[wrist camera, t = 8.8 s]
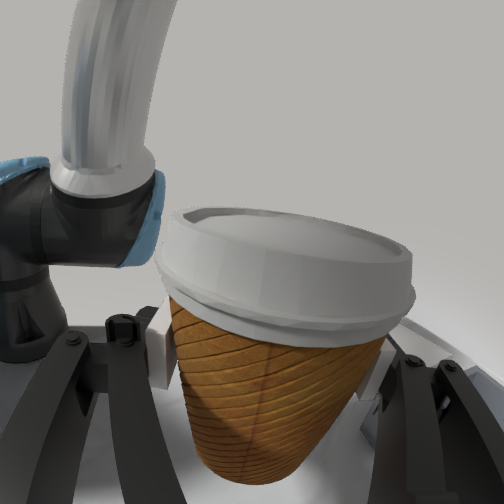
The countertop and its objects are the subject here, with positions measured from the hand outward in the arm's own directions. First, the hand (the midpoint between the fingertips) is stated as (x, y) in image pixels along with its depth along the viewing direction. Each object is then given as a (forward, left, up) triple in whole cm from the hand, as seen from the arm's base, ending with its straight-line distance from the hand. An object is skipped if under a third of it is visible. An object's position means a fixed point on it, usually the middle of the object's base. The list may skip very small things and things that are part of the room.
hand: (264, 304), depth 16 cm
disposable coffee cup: (+5, -1, -7) cm, 8 cm away
